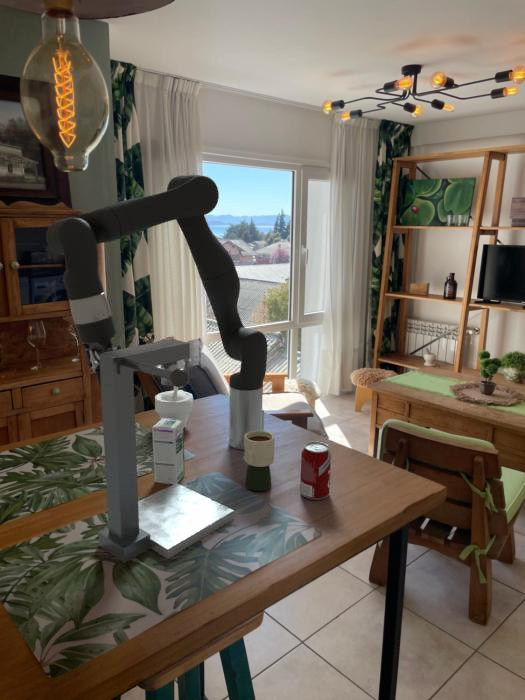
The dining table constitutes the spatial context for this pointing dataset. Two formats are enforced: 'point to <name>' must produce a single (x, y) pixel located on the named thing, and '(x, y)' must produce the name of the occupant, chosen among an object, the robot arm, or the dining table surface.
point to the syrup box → (168, 451)
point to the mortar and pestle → (174, 402)
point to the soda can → (315, 471)
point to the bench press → (121, 464)
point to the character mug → (258, 459)
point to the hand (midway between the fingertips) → (113, 389)
